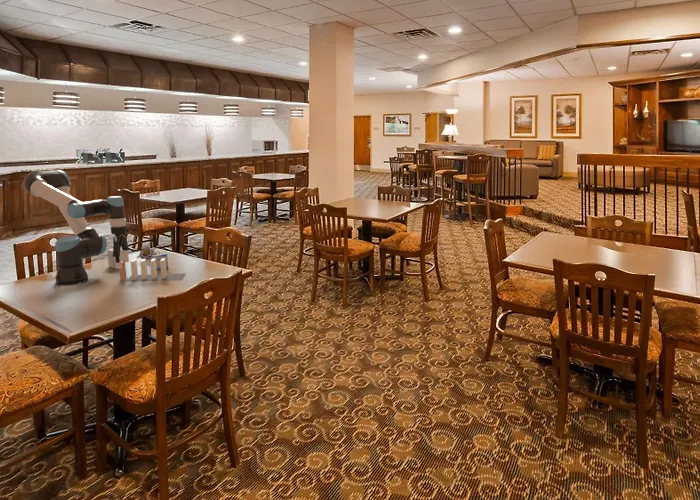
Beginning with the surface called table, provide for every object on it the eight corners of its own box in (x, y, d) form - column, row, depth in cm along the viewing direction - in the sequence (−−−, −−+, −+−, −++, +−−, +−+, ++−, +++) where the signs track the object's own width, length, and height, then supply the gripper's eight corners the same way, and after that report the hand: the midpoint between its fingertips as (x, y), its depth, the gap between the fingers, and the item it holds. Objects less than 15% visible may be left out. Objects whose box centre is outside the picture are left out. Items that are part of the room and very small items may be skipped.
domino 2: (142, 279, 271) (140, 261, 268) (144, 276, 276) (142, 259, 273) (145, 279, 271) (143, 261, 269) (147, 276, 276) (146, 258, 274)
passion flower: (147, 271, 307) (133, 257, 303) (151, 263, 317) (137, 249, 312) (161, 261, 306) (147, 247, 301) (165, 254, 316) (151, 239, 311)
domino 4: (161, 278, 272) (160, 260, 270) (163, 276, 277) (161, 258, 275) (165, 278, 272) (163, 260, 270) (166, 276, 277) (165, 258, 275)
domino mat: (125, 282, 266) (125, 282, 266) (131, 276, 278) (131, 275, 278) (182, 280, 270) (182, 280, 270) (186, 274, 283) (186, 273, 283)
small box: (125, 266, 297) (123, 249, 295) (116, 269, 293) (114, 251, 290) (117, 264, 301) (115, 247, 299) (108, 267, 297) (106, 249, 294)
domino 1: (132, 279, 270) (130, 261, 268) (134, 277, 275) (132, 259, 272) (135, 279, 270) (134, 261, 268) (138, 277, 275) (136, 259, 273)
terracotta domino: (120, 281, 269) (118, 262, 267) (123, 278, 274) (121, 260, 272) (124, 280, 269) (122, 262, 267) (126, 278, 274) (124, 260, 272)
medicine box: (156, 271, 289) (155, 256, 287) (152, 269, 291) (150, 255, 289) (168, 268, 295) (167, 253, 293) (164, 267, 298) (163, 252, 296)
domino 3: (151, 279, 271) (150, 261, 269) (153, 276, 276) (152, 258, 274) (155, 278, 272) (153, 260, 269) (157, 276, 277) (155, 258, 274)
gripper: (119, 229, 253) (123, 270, 258) (132, 221, 278) (136, 259, 282) (103, 230, 252) (108, 271, 257) (117, 222, 276) (121, 259, 281)
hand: (122, 265), depth 270 cm, fingers open, 13 cm apart
